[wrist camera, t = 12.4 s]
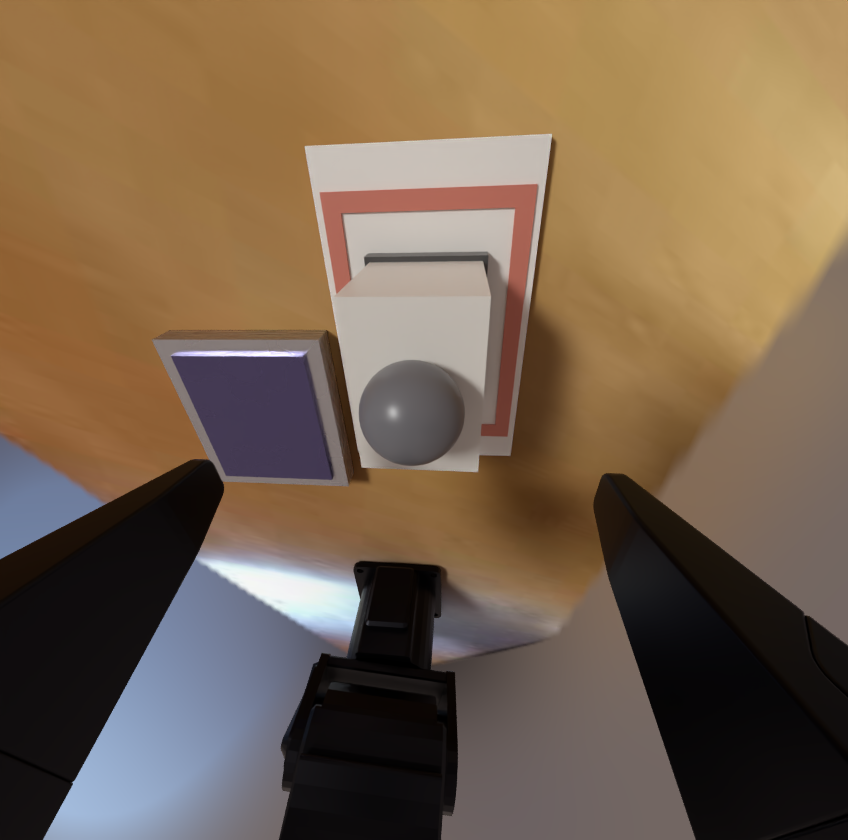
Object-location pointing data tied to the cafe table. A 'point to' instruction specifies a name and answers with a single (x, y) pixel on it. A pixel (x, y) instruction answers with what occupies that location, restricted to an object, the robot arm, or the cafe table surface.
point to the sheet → (443, 231)
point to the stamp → (417, 358)
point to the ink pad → (262, 403)
